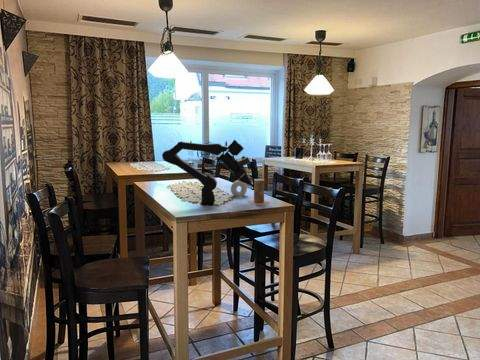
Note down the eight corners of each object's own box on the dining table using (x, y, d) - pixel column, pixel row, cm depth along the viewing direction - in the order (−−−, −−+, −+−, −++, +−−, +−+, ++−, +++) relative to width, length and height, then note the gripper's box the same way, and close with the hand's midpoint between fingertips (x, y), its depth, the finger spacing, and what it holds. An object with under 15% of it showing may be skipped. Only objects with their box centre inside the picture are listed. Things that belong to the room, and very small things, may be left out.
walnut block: (254, 203, 201) (254, 180, 199) (253, 201, 206) (254, 179, 204) (263, 203, 201) (264, 180, 199) (263, 201, 206) (263, 179, 204)
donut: (245, 196, 225) (245, 179, 224) (247, 197, 222) (248, 180, 221) (229, 197, 221) (229, 180, 220) (232, 198, 218) (232, 181, 217)
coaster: (248, 206, 197) (248, 204, 197) (246, 201, 209) (246, 200, 209) (271, 206, 198) (271, 204, 198) (268, 201, 210) (268, 200, 210)
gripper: (241, 152, 190) (263, 175, 192) (240, 150, 209) (260, 170, 211) (225, 168, 191) (247, 190, 193) (226, 164, 210) (246, 184, 212)
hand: (251, 183), depth 202 cm, fingers open, 9 cm apart
